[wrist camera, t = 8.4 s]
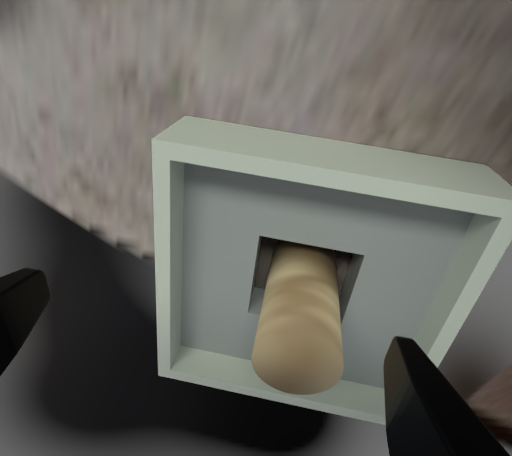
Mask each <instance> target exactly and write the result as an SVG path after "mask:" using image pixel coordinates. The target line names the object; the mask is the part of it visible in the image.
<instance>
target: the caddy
mask: <svg viewBox="0 0 512 456" xmlns="http://www.w3.org/2000/svg"><path fill="white" fill-rule="evenodd" d="M152 168H153V204H154V240H155V276H156V311H157V345H158V346H157V348H158V375H159V376H163V377H168V378H172V379H177V380H182V381H187V382H191V383H195V384H201V385H204V386H209V387H214V388H218V389H223V390H227V391H232V392H236V393H241V394H245V395H251V396H255V397H260V398H264V399H268V400H273V401H277V402H282V403H287V404H291V405H296V406H300V407H305V408H310V409H314V410H319V411H323V412H328V413H332V414H337V415H341V416H346V417H351V418H355V419H359V420H364V421H369V422H373V423H378V424H382V425H386V420H385V395H384V370H383V366H384V359H385V356H386V354H387V351H388V349H389V346H390V344H391V342H392V339H393V338H394V337H395V336H402V337H407V338H411V339H413V340H414V341H415V342H416V343H417V344H418V345H419V346H420V348H421V349H422V350H423V351H424V352H425V354H426V355H427V356H428V357H429V358H430V360H431V361H432V362H433V363H434V364H435V366H436V367H437V368H438V366H439V365H440V362H441V361H442V359H443V358H444V356H445V354H446V352H447V351H448V349H449V347H450V345H451V344H452V342H453V340H454V339H455V337H456V335H457V333H458V332H459V330H460V328H461V327H462V325H463V323H464V321H465V320H466V318H467V316H468V315H469V313H470V311H471V309H472V307H473V306H474V304H475V302H476V301H477V299H478V297H479V295H480V294H481V292H482V290H483V289H484V287H485V285H486V283H487V282H488V280H489V278H490V277H491V275H492V273H493V271H494V270H495V268H496V266H497V264H498V263H499V261H500V259H501V258H502V256H503V254H504V252H505V250H506V249H507V247H508V246H509V244H510V242H511V240H512V186H511V185H510V184H508V183H507V182H506V181H505V180H504V179H503V178H501V177H500V176H499V175H498V174H497V173H496V172H494V171H493V170H492V169H491V168H490V167H489V166H487V165H483V164H477V163H471V162H465V161H459V160H453V159H447V158H441V157H435V156H429V155H423V154H417V153H411V152H405V151H398V150H392V149H386V148H380V147H374V146H368V145H362V144H356V143H350V142H344V141H338V140H332V139H326V138H320V137H313V136H307V135H301V134H295V133H289V132H283V131H277V130H271V129H265V128H259V127H253V126H247V125H241V124H235V123H229V122H222V121H216V120H210V119H204V118H198V117H192V116H184V117H183V118H181V119H180V120H178V121H177V122H176V123H174V124H173V125H171V126H170V127H168V128H167V129H165V130H164V131H162V132H161V133H160V134H158V135H157V136H155V137H154V138H152ZM262 236H264V237H269V238H274V239H280V240H285V241H291V242H296V243H301V244H307V245H312V246H317V247H323V248H328V249H333V250H339V251H344V252H349V253H353V255H352V258H351V262H350V265H349V268H348V271H347V274H346V277H345V281H344V284H343V287H342V290H341V293H340V296H339V306H340V321H341V335H342V349H343V363H344V370H343V374H342V376H341V378H340V380H339V381H338V382H337V383H336V384H335V385H334V386H333V387H331V388H330V389H328V390H326V391H323V392H320V393H317V394H311V395H296V394H290V393H285V392H282V391H279V390H277V389H275V388H273V387H271V386H269V385H268V384H266V383H265V382H264V381H262V380H261V379H260V378H259V377H258V375H257V374H256V373H255V371H254V369H253V366H252V361H251V357H252V351H253V347H254V342H255V337H256V332H257V327H258V322H259V317H260V312H261V307H262V303H263V298H264V293H265V289H263V288H258V287H254V286H255V279H256V273H257V266H258V260H259V253H260V247H261V240H262Z"/></svg>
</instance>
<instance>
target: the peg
mask: <svg viewBox="0 0 512 456" xmlns="http://www.w3.org/2000/svg"><path fill="white" fill-rule="evenodd" d="M251 361H252V366H253V369H254V371H255V373H256V374H257V375H258V377H259V378H260V379H261V380H262V381H264V382H265V383H266V384H268V385H269V386H271V387H273V388H275V389H277V390H279V391H282V392H285V393H290V394H296V395H311V394H317V393H320V392H323V391H326V390H328V389H330V388H331V387H333V386H334V385H335V384H336V383H337V382H338V381H339V380H340V378H341V376H342V374H343V370H344V363H343V349H342V335H341V321H340V306H339V292H338V278H337V263H336V255H335V252H334V250H333V249H328V248H323V247H317V246H312V245H307V244H301V243H296V242H291V241H285V240H281V241H280V242H279V243H278V244H277V245H276V247H275V248H274V251H273V254H272V259H271V263H270V268H269V273H268V278H267V283H266V288H265V293H264V298H263V303H262V307H261V312H260V317H259V322H258V327H257V332H256V337H255V342H254V347H253V351H252V357H251Z"/></svg>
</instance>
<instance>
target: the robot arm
mask: <svg viewBox="0 0 512 456" xmlns="http://www.w3.org/2000/svg"><path fill="white" fill-rule="evenodd" d="M50 296H51V293H50V290H49V286H48V282H47V278H46V274H45V272H44V271H42V270H40V269H35V268H28V267H27V268H23V269H21V270H18V271H16V272H13V273H10V274H8V275H5V276H2V277H0V376H1V375H2V373H3V372H4V371H5V369H6V368H7V367H8V365H9V364H10V363H11V361H12V360H13V358H14V357H15V356H16V354H17V353H18V351H19V350H20V348H21V347H22V345H23V344H24V342H25V340H26V339H27V337H28V335H29V334H30V332H31V331H32V329H33V327H34V326H35V324H36V322H37V321H38V319H39V317H40V316H41V314H42V313H43V311H44V309H45V308H46V306H47V304H48V302H49V300H50ZM383 370H384V395H385V420H386V433H387V442H388V448H389V454H390V456H510V455H509V454H508V452H507V451H506V450H505V449H504V448H503V446H502V445H501V444H500V443H499V442H498V440H497V439H496V438H495V437H494V436H493V434H492V433H491V432H490V431H489V429H488V428H487V427H486V426H485V425H484V423H483V422H482V421H481V420H480V419H479V417H478V416H477V415H476V414H475V413H474V411H473V410H472V409H471V408H470V407H469V405H468V404H467V403H466V402H465V401H464V399H463V398H462V397H461V396H460V395H459V394H458V392H457V391H456V390H455V389H454V388H453V386H452V385H451V384H450V383H449V381H448V380H447V379H446V378H445V377H444V375H443V374H442V373H441V372H440V371H439V369H438V368H437V367H436V366H435V364H434V363H433V362H432V361H431V360H430V358H429V357H428V356H427V355H426V354H425V352H424V351H423V350H422V349H421V348H420V346H419V345H418V344H417V343H416V342H415V341H414V340H413V339H411V338H407V337H402V336H395V337H394V338H393V339H392V342H391V344H390V346H389V349H388V351H387V354H386V356H385V359H384V366H383Z"/></svg>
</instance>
